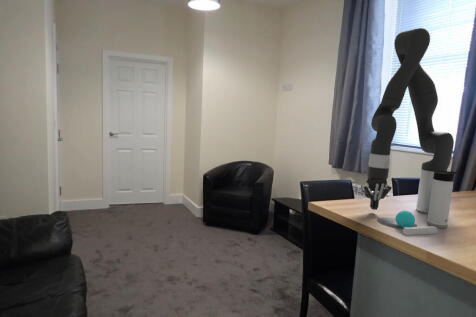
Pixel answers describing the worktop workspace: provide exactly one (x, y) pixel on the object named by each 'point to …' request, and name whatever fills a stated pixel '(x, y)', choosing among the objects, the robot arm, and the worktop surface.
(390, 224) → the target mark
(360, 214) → the worktop surface
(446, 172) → the travel mug
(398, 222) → the ball
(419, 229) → the wall
